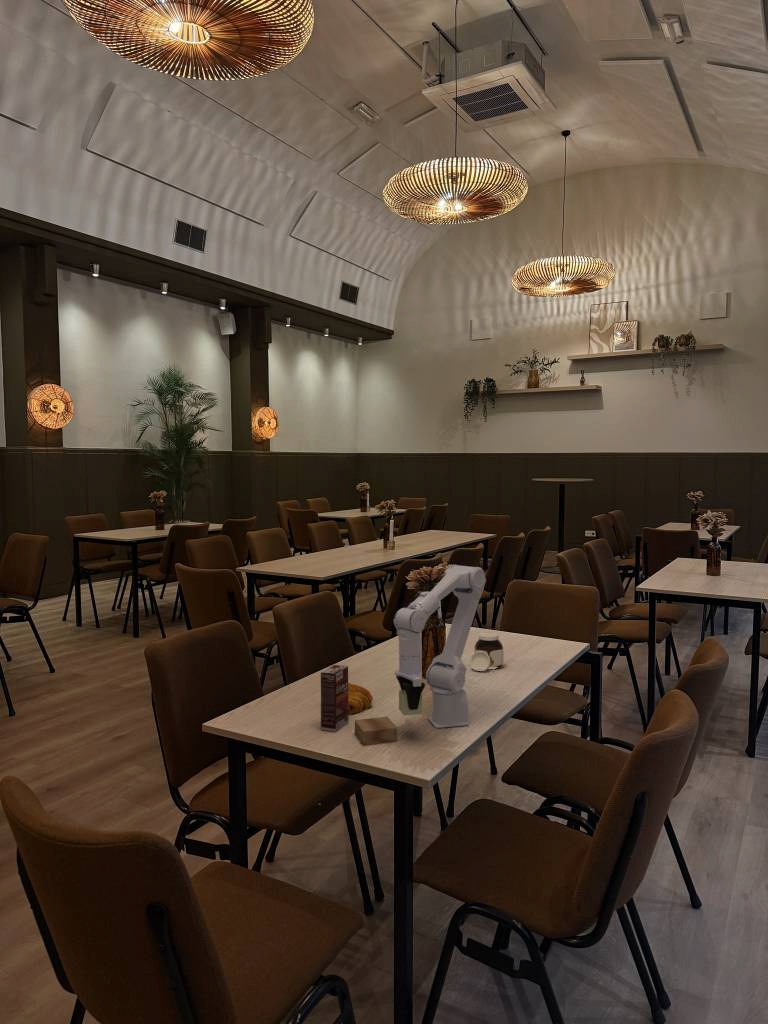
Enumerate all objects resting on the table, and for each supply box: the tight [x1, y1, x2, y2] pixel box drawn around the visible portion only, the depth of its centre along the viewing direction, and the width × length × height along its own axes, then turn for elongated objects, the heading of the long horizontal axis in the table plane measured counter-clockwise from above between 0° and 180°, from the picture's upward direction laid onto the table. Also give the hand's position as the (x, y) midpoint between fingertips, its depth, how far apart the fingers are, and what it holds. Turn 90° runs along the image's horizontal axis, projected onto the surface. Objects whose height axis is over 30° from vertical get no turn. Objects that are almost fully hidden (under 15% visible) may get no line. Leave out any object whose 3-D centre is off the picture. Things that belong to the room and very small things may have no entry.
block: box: [354, 716, 398, 747], centre depth 188 cm, size 9×9×4 cm
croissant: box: [348, 682, 374, 715], centre depth 213 cm, size 14×16×8 cm
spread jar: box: [469, 632, 504, 672], centre depth 252 cm, size 12×11×12 cm
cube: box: [398, 689, 423, 716], centre depth 188 cm, size 5×5×5 cm
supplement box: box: [320, 664, 350, 733], centre depth 197 cm, size 9×5×16 cm, turn 158°
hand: (410, 705), depth 188 cm, fingers closed on cube, 5 cm apart
